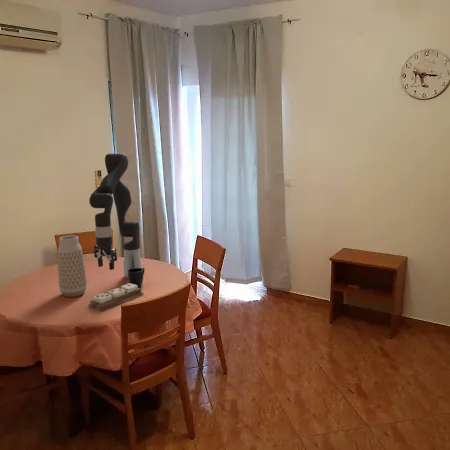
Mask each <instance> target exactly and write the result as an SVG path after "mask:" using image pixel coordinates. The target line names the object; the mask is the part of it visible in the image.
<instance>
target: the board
mask: <svg viewBox="0 0 450 450" xmlns="http://www.w3.org/2000/svg"><path fill="white" fill-rule="evenodd" d="M141 296H144V292H142V288H141V287H140V288H138V289H137V290H135V291H132V292H130V293H126V292H125V295H122V296H120V297H117V298H112V300H110V301H107V302H105V303H102V304H101V303H98V302H95V301H94V299H92V300H89V303H88V307H89V308H92V309H95V310H98V311H100V312H101V311H102V312H105V311H107V310H109V309H112V308H115V307H116V306H117V307H118V306H119V305H121V304H124V303H127V302H130V301H131V300H134V299H136V298H139V297H141Z"/></svg>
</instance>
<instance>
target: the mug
mask: <svg viewBox="0 0 450 450" xmlns="http://www.w3.org/2000/svg"><path fill="white" fill-rule="evenodd" d="M145 271H146V270H145V267H142V266H141V268H132V269H129V270H128V278H127V279H128V281H129V283H131V284H134V285H138V288H140V289H141V288H142V285H143V282H144V281H143V280H144V276H145Z"/></svg>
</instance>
